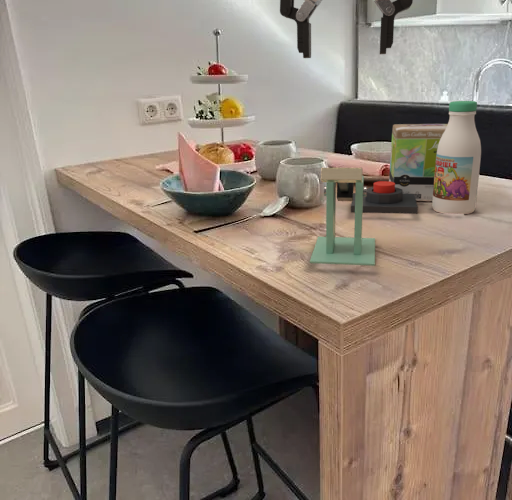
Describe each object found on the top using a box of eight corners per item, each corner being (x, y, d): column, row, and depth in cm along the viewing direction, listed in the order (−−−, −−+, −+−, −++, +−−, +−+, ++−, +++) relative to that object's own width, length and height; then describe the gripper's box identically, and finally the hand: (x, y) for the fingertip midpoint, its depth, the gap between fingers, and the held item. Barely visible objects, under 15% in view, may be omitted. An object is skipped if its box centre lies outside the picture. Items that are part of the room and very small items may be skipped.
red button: (394, 190, 98) (394, 181, 97) (395, 194, 94) (395, 185, 93) (373, 189, 99) (373, 181, 98) (373, 194, 95) (373, 185, 94)
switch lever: (361, 183, 61) (362, 164, 61) (320, 183, 62) (321, 164, 62) (362, 201, 72) (363, 185, 73) (328, 201, 73) (328, 185, 74)
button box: (413, 204, 101) (414, 184, 99) (417, 218, 92) (418, 197, 90) (352, 203, 103) (353, 184, 102) (350, 216, 94) (351, 196, 93)
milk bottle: (447, 202, 101) (456, 99, 94) (483, 210, 95) (496, 100, 88) (423, 210, 96) (431, 102, 90) (459, 218, 90) (471, 103, 84)
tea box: (391, 203, 102) (395, 129, 97) (388, 191, 111) (391, 123, 106) (469, 203, 100) (477, 127, 95) (459, 191, 109) (466, 121, 104)
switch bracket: (374, 271, 69) (378, 188, 65) (309, 268, 71) (309, 187, 67) (374, 245, 79) (377, 171, 75) (317, 243, 81) (317, 171, 77)
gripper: (416, -109, 53) (407, 53, 59) (285, -94, 57) (287, 59, 62) (422, -135, 47) (411, 52, 52) (272, -116, 50) (276, 59, 55)
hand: (344, 56), depth 57 cm, fingers open, 8 cm apart
